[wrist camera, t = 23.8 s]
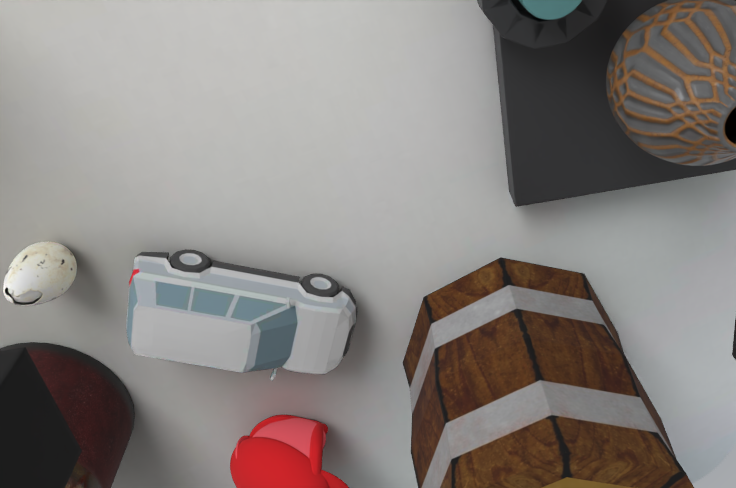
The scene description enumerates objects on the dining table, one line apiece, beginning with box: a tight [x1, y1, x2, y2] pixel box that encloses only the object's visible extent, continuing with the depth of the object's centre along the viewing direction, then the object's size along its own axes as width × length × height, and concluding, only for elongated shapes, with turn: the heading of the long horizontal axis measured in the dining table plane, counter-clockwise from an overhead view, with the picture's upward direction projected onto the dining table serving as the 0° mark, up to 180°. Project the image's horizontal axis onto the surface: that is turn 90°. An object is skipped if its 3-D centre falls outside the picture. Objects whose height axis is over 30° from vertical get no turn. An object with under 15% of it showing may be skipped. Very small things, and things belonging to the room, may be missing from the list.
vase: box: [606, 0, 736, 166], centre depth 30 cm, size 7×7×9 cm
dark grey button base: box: [477, 0, 736, 207], centre depth 33 cm, size 14×13×4 cm
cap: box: [230, 415, 349, 488], centre depth 46 cm, size 8×6×6 cm
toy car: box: [126, 250, 357, 381], centre depth 40 cm, size 6×13×5 cm, turn 77°
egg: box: [3, 241, 77, 306], centre depth 38 cm, size 3×3×5 cm
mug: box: [403, 258, 694, 488], centre depth 39 cm, size 20×14×15 cm
